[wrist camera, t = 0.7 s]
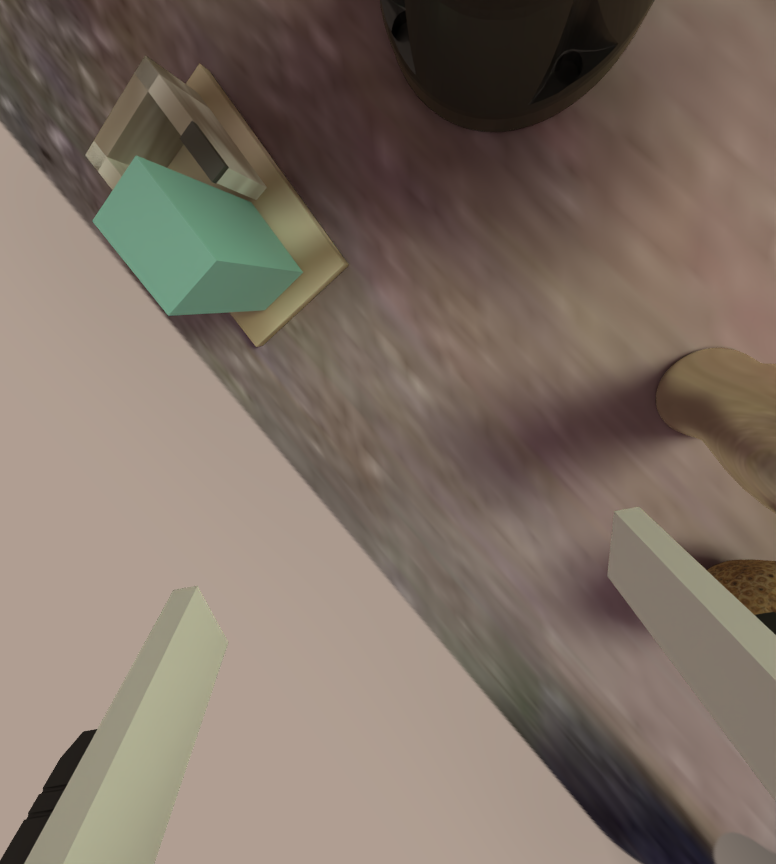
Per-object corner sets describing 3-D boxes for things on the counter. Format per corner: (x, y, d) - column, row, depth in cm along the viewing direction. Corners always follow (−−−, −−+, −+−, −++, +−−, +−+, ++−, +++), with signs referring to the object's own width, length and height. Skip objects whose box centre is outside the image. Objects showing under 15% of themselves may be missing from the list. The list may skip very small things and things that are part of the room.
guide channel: (348, 265, 29) (317, 257, 23) (262, 345, 33) (218, 355, 27) (209, 71, 27) (139, 14, 21) (134, 180, 31) (59, 155, 25)
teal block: (303, 272, 29) (216, 260, 19) (264, 310, 30) (168, 315, 21) (251, 202, 28) (135, 155, 19) (214, 245, 29) (92, 221, 20)
